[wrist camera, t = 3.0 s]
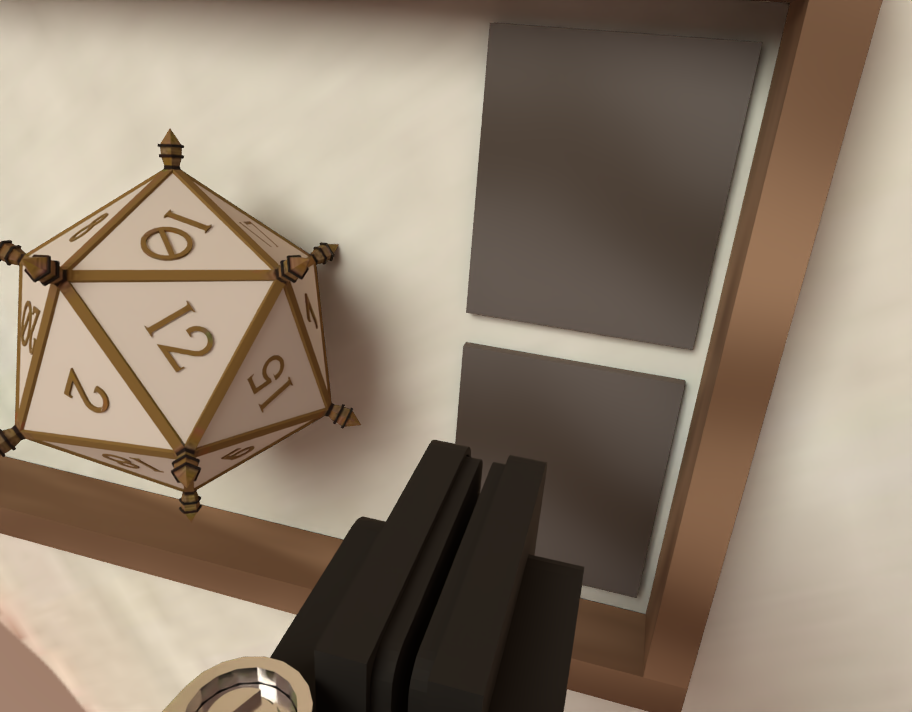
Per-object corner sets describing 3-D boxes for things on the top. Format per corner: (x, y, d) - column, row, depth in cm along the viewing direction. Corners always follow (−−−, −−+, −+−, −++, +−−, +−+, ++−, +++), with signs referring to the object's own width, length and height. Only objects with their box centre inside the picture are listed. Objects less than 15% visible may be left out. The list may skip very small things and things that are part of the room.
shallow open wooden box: (678, 653, 22) (678, 720, 20) (-46, 468, 28) (-107, 503, 26) (868, -60, 14) (905, -81, 12) (-193, -105, 20) (-298, -124, 18)
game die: (291, 301, 26) (14, 471, 21) (207, 62, 20) (-199, 225, 15) (466, 421, 20) (147, 680, 16) (421, 144, 15) (-99, 427, 10)
